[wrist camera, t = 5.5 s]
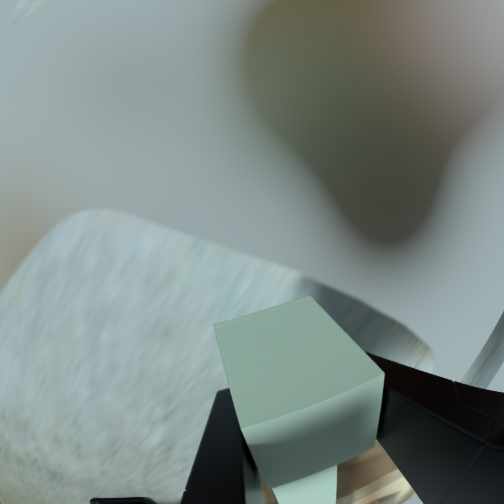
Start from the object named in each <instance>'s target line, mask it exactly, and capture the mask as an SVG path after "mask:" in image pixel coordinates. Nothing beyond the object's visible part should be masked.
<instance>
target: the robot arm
mask: <svg viewBox="0 0 504 504" xmlns="http://www.w3.org/2000/svg"><path fill="white" fill-rule="evenodd" d="M364 352H365V351H364ZM365 353H366V354H367V355H368V356H369V357H370V358H371V359H372V361H373V362H374V363H375V364H376V365H377V366H378V367H379V368H380V369H381V370H382V371H383V372H384V373H385V375H384V385H383V393H382V401H381V409H380V416H379V423H378V429H377V435H376V439H377V441H378V442H379V443H380V445H381V446H382V448H383V449H384V450H385V452H386V453H387V454H388V456H389V457H390V459H391V460H392V461H393V463H394V464H395V465H396V467H397V468H398V469H399V471H400V472H401V474H402V475H403V476H404V478H405V479H406V480H407V482H408V483H409V484H410V486H411V487H412V489H413V490H414V491H415V493H416V494H417V495H418V497H419V498H420V499H421V501H422V502H423V503H424V504H504V393H503V392H497V391H491V390H487V389H482V388H478V387H474V386H470V385H466V384H463V383H459V382H456V381H454V382H453V381H452V380H449V379H446V378H443V377H439V376H436V375H433V374H430V373H427V372H424V371H421V370H418V369H415V368H411V367H408V366H405V365H403V364H400V363H397V362H394V361H391V360H388V359H385V358H382V357H379V356H376V355H374V354H371V353H368V352H365ZM185 490H186V491H184V493H183V496H182V499H181V502H180V504H265V500H264V495H263V490H262V485H261V480H260V475H259V470H258V467H257V465H256V463H255V461H254V458H253V456H252V454H251V452H250V449H249V447H248V445H247V442H246V440H245V437H244V435H243V433H242V430H241V428H240V424H239V421H238V417H237V414H236V410H235V407H234V403H233V399H232V396H231V392H230V389H229V388H227V389H223V390H219V391H218V392H217V394H216V397H215V400H214V403H213V406H212V409H211V412H210V415H209V418H208V421H207V424H206V427H205V430H204V433H203V436H202V439H201V442H200V445H199V448H198V451H197V454H196V457H195V460H194V463H193V466H192V469H191V472H190V475H189V478H188V481H187V484H186V487H185ZM90 504H150V503H149V502H148V501H146V500H145V499H141V498H137V499H91V500H90Z"/></svg>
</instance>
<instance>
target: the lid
mask: <svg viewBox="0 0 504 504" xmlns="http://www.w3.org/2000/svg"><path fill="white" fill-rule="evenodd" d="M415 494H416V493H415V491H414V490H413V489H412V487H411V486H410V484H409V483H408V482H407V480H406V479H405V478H404V476H403V475H402V474H401V472H400V471H399V469H397V470H396V471H394V472H392V473H390V474H388V475H387V476H385V477H383V478H381V479H379V480H377V481H375V482H373V483H371V484H369V485H367V486H365V487H363V488H361V489H359V490H357V491H355V492H353V493H351V494H348V495H346V496H344V497H341V498H339V499H337V500H336V504H402V503H403V502H405V501H407V500H408V499H410V498H412V497H413V496H414V495H415Z"/></svg>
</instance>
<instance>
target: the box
mask: <svg viewBox="0 0 504 504" xmlns="http://www.w3.org/2000/svg"><path fill="white" fill-rule="evenodd" d="M397 469H398V468H397V467H396V465H395V464H394V463H393V461H392V460H391V459H390V457H389V456H388V454H387V453H386V452H385V450H384V449H383V448H382V446H381V445H380V443H379V442H378V441H377V439H376V440H375V446H374V448H372V449H370V450H368V451H366V452H364V453H362V454H360V455H358V456H356V457H354V458H351V459H349V460H347V461H345V462H342V463H340V464H338V465H337V488H336V500H337V499H339V498H341V497H344V496H346V495H348V494H351V493H353V492H355V491H357V490H359V489H361V488H363V487H365V486H367V485H369V484H371V483H373V482H375V481H377V480H379V479H381V478H383V477H385V476H387V475H388V474H390V473H392V472H394V471H396V470H397ZM259 475H260V480H261V485H262V490H263V495H264V500H265V504H279V503H278V501H277V499H276V496H275V494H274V492H273V490H272V489H267V487H266V485H265V483H264V481H263V479H262V476H261V474H260V472H259Z"/></svg>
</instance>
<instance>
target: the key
mask: <svg viewBox="0 0 504 504" xmlns="http://www.w3.org/2000/svg"><path fill="white" fill-rule="evenodd" d="M213 326H214V330H215V334H216V338H217V342H218V346H219V350H220V354H221V358H222V362H223V366H224V370H225V374H226V377H227V381H228V385H229V389H230V392H231V396H232V399H233V403H234V407H235V410H236V414H237V417H238V421H239V424H240V428H241V430H242V433H243V435H244V437H245V440H246V442H247V445H248V447H249V449H250V452H251V454H252V456H253V458H254V461H255V463H256V465H257V467H258V470H259V472H260V474H261V476H262V479H263V481H264V483H265V485H266V487H267V489H272V490H273V492H274V494H275V496H276V499H277V501H278V503H279V504H336V488H337V465H338V464H340V463H342V462H345V461H347V460H349V459H351V458H354V457H356V456H358V455H360V454H362V453H364V452H366V451H368V450H370V449H372V448H374V446H375V440H376V435H377V429H378V423H379V416H380V409H381V401H382V393H383V385H384V375H385V373H384V372H383V371H382V370H381V369H380V368H379V367H378V366H377V365H376V364H375V363H374V362H373V361H372V359H371V358H370V357H369V356H368V355H367V354H366V353H365V352H364V351H363V350H362V349H361V348H360V347H359V346H358V345H357V344H356V343H355V342H354V341H353V340H352V339H351V338H350V337H349V335H348V334H347V333H346V332H345V331H344V330H343V329H342V328H341V327H340V326H339V325H338V324H337V323H336V322H335V321H334V320H333V319H332V318H331V317H330V316H329V315H328V314H327V313H326V312H325V311H324V310H323V309H322V308H321V307H320V305H319V304H318V303H317V302H316V301H315V300H314V299H313V298H312V297H311V296H310V295H309V296H306V297H303V298H300V299H297V300H294V301H291V302H287V303H284V304H281V305H278V306H275V307H271V308H268V309H265V310H262V311H258V312H255V313H252V314H248V315H245V316H241V317H238V318H235V319H231V320H228V321H224V322H220V323H217V324H213Z"/></svg>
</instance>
